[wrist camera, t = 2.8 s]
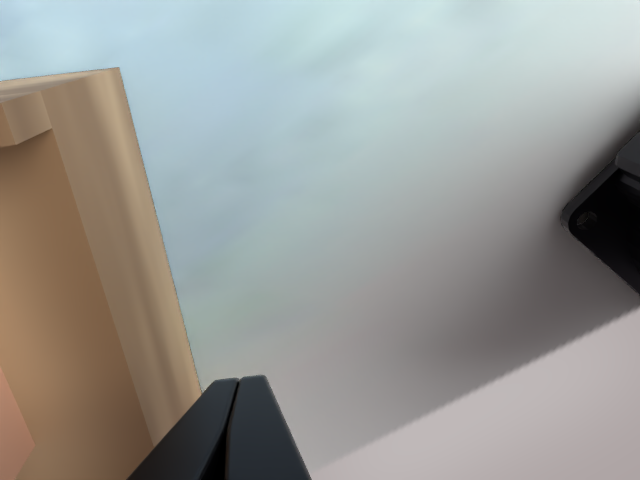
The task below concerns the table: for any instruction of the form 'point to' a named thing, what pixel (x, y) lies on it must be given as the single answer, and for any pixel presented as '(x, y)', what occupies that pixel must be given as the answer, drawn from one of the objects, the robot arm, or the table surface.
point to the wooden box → (85, 282)
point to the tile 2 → (12, 434)
